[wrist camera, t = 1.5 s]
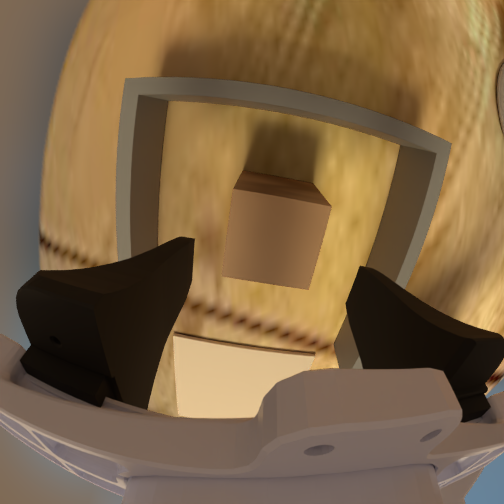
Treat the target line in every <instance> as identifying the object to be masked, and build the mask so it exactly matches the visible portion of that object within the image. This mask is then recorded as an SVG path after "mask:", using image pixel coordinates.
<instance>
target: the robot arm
mask: <svg viewBox="0 0 504 504" xmlns="http://www.w3.org/2000/svg"><path fill="white" fill-rule="evenodd" d="M194 242H195V239H193V238H187V237H178V238H175V239H173V240H171V241H168V242H166V243H164V244H162V245H160V246H158V247H156V248H153V249H151V250H149V251H146V252H144V253H141V254H139V255H137V256H134V257H131V258H128V259H125V260H122V261H118V262H115V263H111V264H106V265H101V266H97V267H91V268H84V269H74V270H40V271H38V272H37V273H36V274H35V275H34V276H33V277H32V278H31V279H30V280H28V281H27V282H26V283H25V284H24V285H23V286H22V287H21V288H20V289H19V290H18V292H17V296H16V304H17V310H18V313H19V317H20V319H21V322H22V324H23V327H24V329H25V332H26V334H27V336H28V339H29V341H30V343H31V346H30V347H29V348H28V350H27V351H26V350H25V349H24V348H23V347H22V346H21V345H20V344H18V343H16V342H15V341H13V340H11V339H9V338H8V337H6V336H4V335H3V334H0V426H2V427H3V428H4V429H5V430H7V431H8V432H9V433H11V434H12V435H13V436H15V437H17V438H18V439H19V440H20V441H22V442H23V443H25V444H26V445H28V446H29V447H30V448H32V449H33V450H35V451H37V452H38V453H39V454H41V455H43V456H44V457H46V458H47V459H49V460H50V461H52V462H54V463H55V464H57V465H59V466H61V467H62V468H64V469H66V470H68V471H69V472H71V473H73V474H75V475H77V476H79V477H81V478H83V479H85V480H87V481H89V482H91V483H93V484H95V485H97V486H99V487H101V488H104V489H106V490H108V491H110V492H113V493H115V494H118V495H120V496H123V500H122V503H121V504H465V501H464V497H465V496H466V494H467V493H468V492H469V490H470V489H471V487H472V486H473V484H474V483H475V481H476V480H477V478H478V477H479V475H480V474H481V472H482V470H483V469H484V466H486V465H487V464H489V463H490V462H491V461H493V460H494V459H496V458H497V457H498V456H499V455H501V454H502V453H503V452H504V391H503V392H500V393H498V394H494V395H493V396H490V397H489V398H486V397H485V395H484V393H486V392H487V391H488V388H487V386H486V384H485V383H486V382H487V380H488V379H489V378H490V377H491V375H492V374H493V373H494V372H495V370H496V369H497V368H498V366H499V365H500V363H501V362H502V360H503V358H504V338H503V337H502V336H501V335H500V334H498V333H494V332H491V331H487V330H483V329H480V328H477V327H474V326H471V325H468V324H465V323H463V322H461V321H458V320H456V319H454V318H452V317H450V316H447V315H445V314H443V313H441V312H439V311H438V310H436V309H434V308H432V307H431V306H429V305H427V304H426V303H424V302H422V301H421V300H419V299H418V298H416V297H415V296H413V295H412V294H411V293H409V292H408V291H406V290H405V289H403V288H402V287H401V286H399V285H398V284H397V283H395V282H394V281H392V280H391V279H390V278H388V277H387V276H385V275H384V274H382V273H381V272H379V271H377V270H375V269H373V268H370V267H364V266H360V267H359V270H358V273H357V275H356V278H355V281H354V283H353V286H352V289H351V291H350V294H349V296H348V299H347V302H346V309H347V316H348V321H349V325H350V328H351V331H352V334H353V337H354V340H355V344H356V347H357V350H358V353H359V356H360V359H361V363H362V367H363V369H339V368H327V369H318V370H308V371H302V372H300V373H298V374H295V375H293V376H291V377H288V378H286V379H284V380H281V381H279V382H277V383H276V384H275V385H274V386H273V387H272V388H271V390H270V391H269V392H268V393H267V394H266V395H265V396H264V397H263V400H262V403H261V405H260V408H259V411H258V413H257V414H256V416H255V417H248V418H186V417H172V416H168V415H164V414H160V413H156V412H153V411H149V410H147V408H148V404H149V399H150V395H151V391H152V387H153V383H154V379H155V376H156V372H157V369H158V365H159V362H160V359H161V355H162V352H163V349H164V346H165V343H166V341H167V338H168V336H169V334H170V332H171V330H172V327H173V325H174V323H175V321H176V319H177V317H178V315H179V313H180V311H181V309H182V307H183V305H184V302H185V300H186V298H187V295H188V292H189V289H190V285H191V282H192V272H193V256H194Z"/></svg>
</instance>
